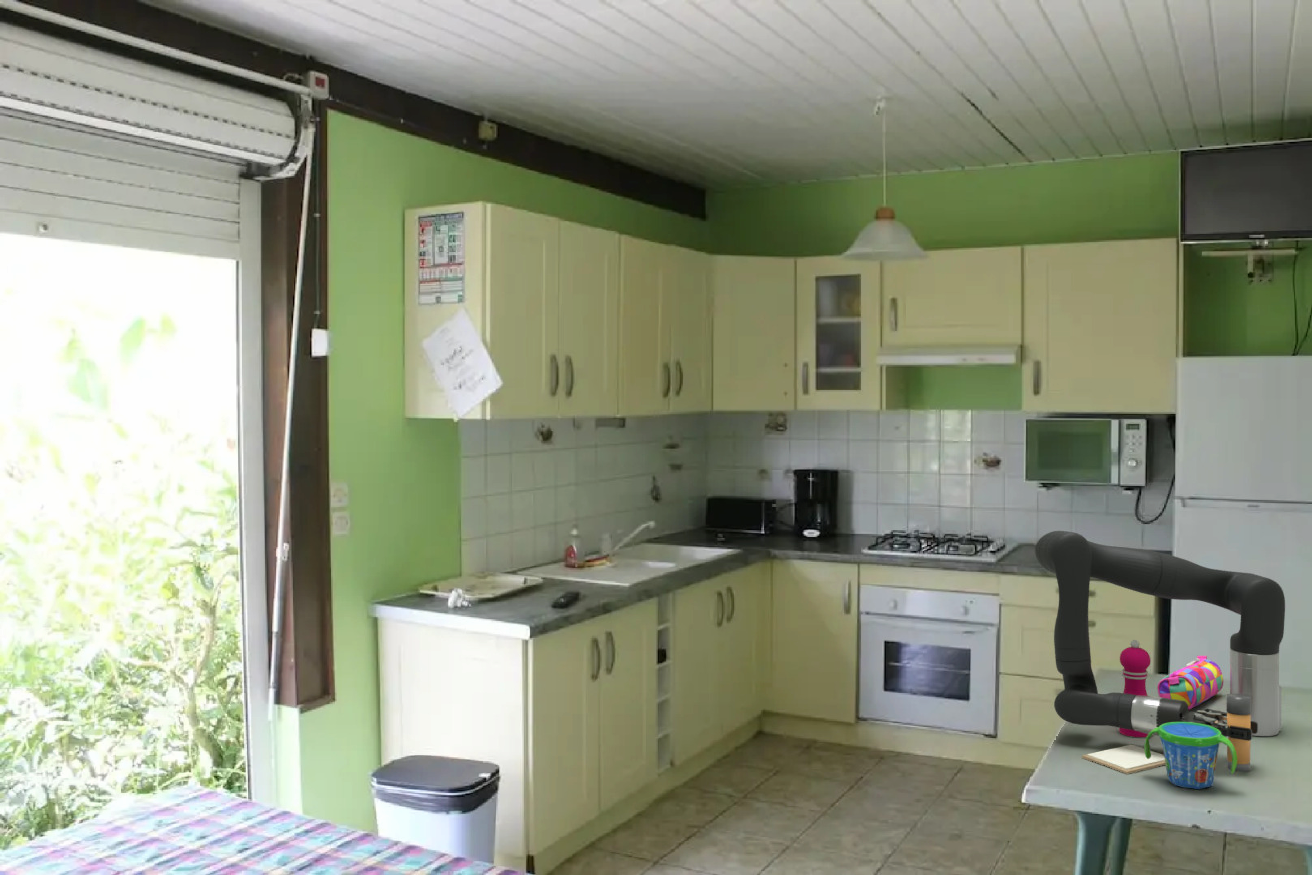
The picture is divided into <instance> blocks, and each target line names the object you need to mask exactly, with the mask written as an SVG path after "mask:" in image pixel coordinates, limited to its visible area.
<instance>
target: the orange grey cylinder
mask: <svg viewBox="0 0 1312 875" xmlns="http://www.w3.org/2000/svg"><path fill="white" fill-rule="evenodd" d="M1226 713H1227V720H1226V722H1227V725H1229V727H1230V725H1232V726H1238V727H1244V728H1250V729H1251V697H1250V696H1248V695H1244V694H1230V693H1229V694H1226ZM1228 739H1229V740H1230V741H1231V743H1232V744H1233V746H1234V748H1235V750H1236V754H1237V766H1236V769H1235V771H1234V772H1237V771H1239V773H1247V772H1250V771H1251V740H1250V741H1248V740H1241V739H1235V738H1230V737H1229V738H1228ZM1231 765H1232V754H1231V751H1230V748H1229V747H1228V746H1227V745H1226V769H1228V770H1230V771H1231Z"/></svg>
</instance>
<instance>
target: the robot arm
mask: <svg viewBox="0 0 1312 875" xmlns="http://www.w3.org/2000/svg"><path fill="white" fill-rule="evenodd" d="M1034 549H1035V550H1034V552H1035V553H1034V554H1035V557H1036V559H1037V561H1038V563H1039V565H1041V566H1042V568H1044V569H1045V570H1047V572H1050V573H1053V574H1055V577H1056V581H1057V586H1058V607H1057V615H1056V619H1055V623H1054V630H1053V643H1054V644H1053V646H1054V658H1055V667H1056V669H1057V671H1058V673H1059V674H1060V675H1062V680H1063V687H1064V688H1063V690H1062V691H1060V692H1059V693H1058V694H1057V695H1056V697H1055V699H1054V704H1053V705H1054V707H1053V708H1054V710H1055V712H1056V714H1057V716H1059V718H1060V719H1062V720H1064V721H1065V722H1067V723H1070V724H1073V725H1074V724H1075V725H1079V726H1102V727H1103V726H1105V727H1106V726H1107V727H1115V728H1124V729H1130V730H1136V731H1140V732H1143V733H1147V734H1149V733H1150V732H1151V731H1152V730H1153V729H1155V728H1157V727H1159V726H1160V725H1162V724H1164V723H1169V722H1192V723H1200V724H1205V725H1209V726H1212V727H1214V728H1216V729H1218V730H1219V731H1220V732H1221V734H1222V735H1223V736H1225V737H1226V738H1229V737H1230V738H1235V739H1241V740H1248V741H1250V742H1251V740H1252V738H1253V736H1254V737H1255V736H1257V737H1272V736H1277V735H1278V734H1280V731H1282V686H1281V685H1280V645H1281V643H1282V640H1283V639H1284V634H1285V621H1286V620H1285V617H1286V600H1285V599H1286V598H1285V594H1284V589H1283V588H1282V587H1281V585H1280V584H1279V583H1278V582H1277V581H1275V580H1273V579H1271V578H1269V577H1266V576H1261V575H1258V574H1255V573H1251V572H1241V571H1232V570H1231V571H1230V570H1229V571H1228V570H1223V569H1216V568H1215V569H1214V568H1209V567H1206V566H1202V565H1199V564H1197V563H1195V562H1192V561H1190V560H1187V559H1185V558H1182V557H1181V558H1180V557H1178V556H1175V555H1171V554H1167V553H1164V552H1163V553H1162V552H1158V551H1153V550H1150V549H1149V550H1147V549H1142V548H1134V547H1126V546H1125V547H1124V546H1112V545H1104V544H1100V543H1098V542H1097V543H1096V542H1093V541H1091V540H1090V541H1089V540H1087V539H1086V538H1085V537H1084V536H1083V535H1082V534H1079V533H1077V532H1074V531H1067V530H1055V531H1049V532H1048V533H1045V534H1044V535H1042V536H1041V537H1040V538H1038V541H1037V542H1036V545H1035V547H1034ZM1091 578H1094V579H1097V580H1100V581H1104V582H1107V583H1109V584H1113V585H1115V586H1118V587H1120V588H1124V589H1127V590H1130V591H1133V592H1137V593H1141V594H1145V595H1149V596H1154V597H1157V598H1160V599H1168V600H1179V601H1181V600H1182V601H1200V602H1203V603H1207V604H1209V605H1213V606H1214V605H1215V606H1217V607H1220V608H1223V609H1225V610H1228V611H1230V612H1232V613H1235V614H1237V615H1240V625H1239V630H1238V631H1237V632H1235V633H1232V635H1231V636H1230V637H1229V638H1230V639H1229V694H1244V695H1248V696H1250V697H1251V729H1250V728H1244V727H1238V726H1232V725H1230V727H1229V725H1227V712H1224V711H1220V710H1215V709H1212V708H1206V707H1205V708H1204V710H1199V709H1198V710H1196V711H1191V710H1189V709H1188V705H1187V703H1186V702H1185V701H1182V700H1175V699H1168V698H1161V697H1159V696H1153V695H1148V696H1140V695H1132V694H1126V693H1123V692H1109V693H1099V691H1098V686H1097V683H1096V682H1097V681H1096V679H1095V675H1094V672H1093V669H1092V658H1091V656H1092V655H1091V643H1090V642H1091V641H1090V632H1089V631H1090V628H1089V601H1090V597H1089V596H1090V582H1091ZM1152 736H1157V737H1160V736H1159V734H1158V733H1157V732H1155V733H1154V734H1153V735H1152Z"/></svg>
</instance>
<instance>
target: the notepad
mask: <svg viewBox="0 0 1312 875" xmlns="http://www.w3.org/2000/svg"><path fill="white" fill-rule="evenodd" d="M1144 748H1145V747H1141V746H1139V745H1135V744H1132V743H1131V744H1128V745H1122V746H1118V747H1113V748H1108V749H1104V750H1101V751H1100V750H1099V751H1096V752H1091V753H1086V754H1082V755H1081V759H1084V760H1087V761H1088V762H1089V761H1090V762H1092V761H1093V762H1092V763H1095V762H1096V763H1095V764H1097V763H1099V764H1098V765H1100V764H1101V766H1103V765H1105V766H1104V767H1106V766H1107V767H1106V768H1108V767H1110V768H1109V769H1111V768H1112V769H1111V770H1114V769H1115V771H1116V770H1118V771H1117V772H1119V771H1120V773H1122V772H1123V773H1122V774H1125V775H1129V774H1130V773H1131V774H1135V773H1139V772H1142V771H1141V770H1143V771H1147V769H1148V770H1151V769H1155V768H1159V766H1160V767H1163V766H1162V765H1164V766H1166V763H1165V757H1164V754H1161V753H1159V752H1156V751H1153V750H1150V752H1151V757H1150V758H1149V759H1147V758H1146V755H1145V749H1144ZM1138 771H1139V772H1138Z"/></svg>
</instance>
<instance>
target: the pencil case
mask: <svg viewBox="0 0 1312 875" xmlns="http://www.w3.org/2000/svg"><path fill="white" fill-rule="evenodd" d="M1207 658H1208V656H1207V655H1197V657H1196V659H1194V660H1192V661H1190V662H1189V663H1187V664H1185V666H1184V667H1183V668H1179V669H1177V670H1175V671H1173V672H1172V673H1169V674H1168V675H1166V676H1164V677H1163V678H1161V679H1160V680H1159V681H1158V683H1157V688H1156V689H1157V694H1158V697H1161V698H1168V699H1175V700H1182V701H1185V702H1186V703H1187V705H1188V709H1189V711H1191V710H1192V709H1193V708H1195V707H1198V706H1199V705H1202V703H1204V702H1206V701H1207V700H1209V699H1211V698H1212V697H1214V696H1216V695H1217V694H1219V693H1220V692H1221V690H1222V689H1223V687H1224V676H1223V672H1222V669H1221V667H1220V666H1219V665H1218V664H1217V663H1216V662H1215V661H1212V660H1210V659H1207Z"/></svg>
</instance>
